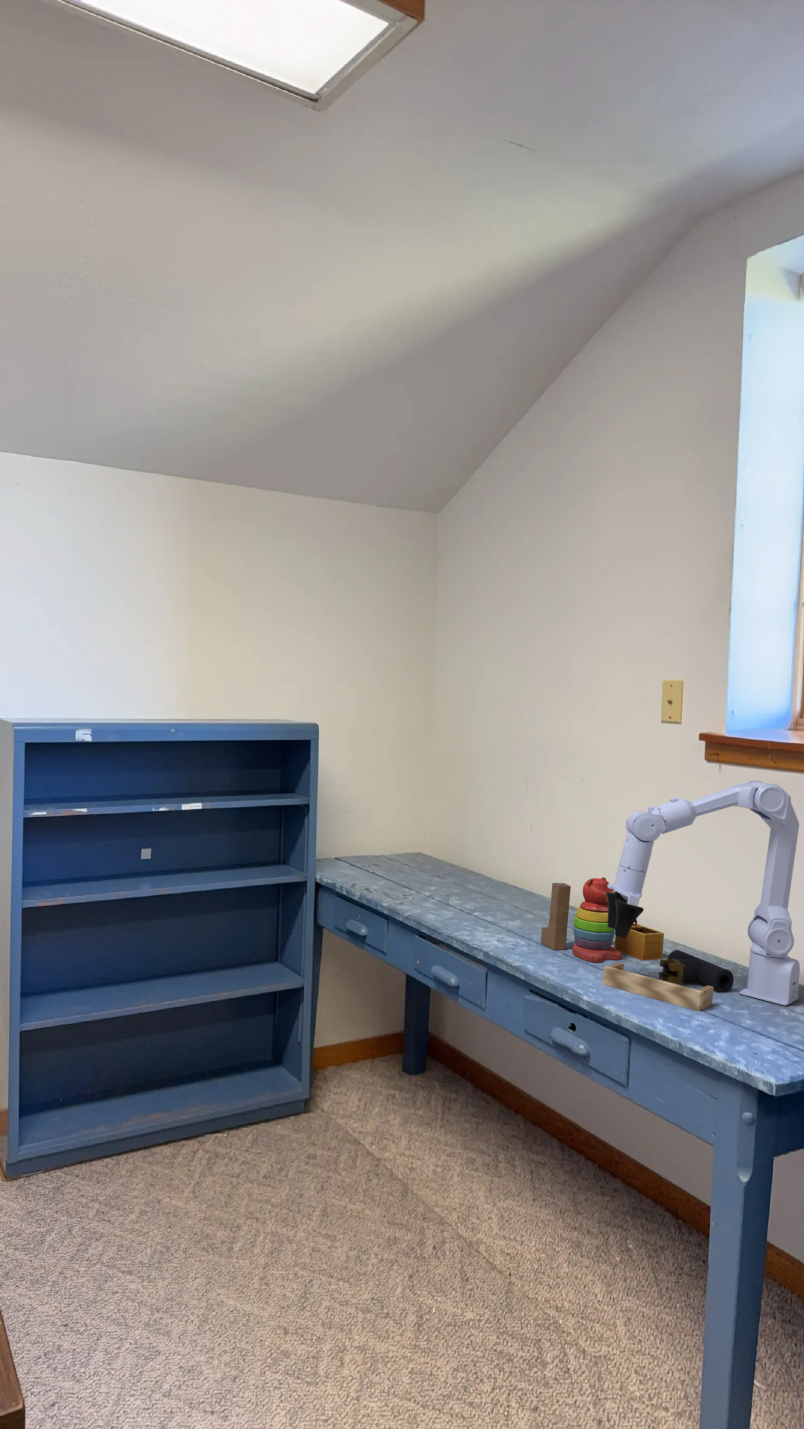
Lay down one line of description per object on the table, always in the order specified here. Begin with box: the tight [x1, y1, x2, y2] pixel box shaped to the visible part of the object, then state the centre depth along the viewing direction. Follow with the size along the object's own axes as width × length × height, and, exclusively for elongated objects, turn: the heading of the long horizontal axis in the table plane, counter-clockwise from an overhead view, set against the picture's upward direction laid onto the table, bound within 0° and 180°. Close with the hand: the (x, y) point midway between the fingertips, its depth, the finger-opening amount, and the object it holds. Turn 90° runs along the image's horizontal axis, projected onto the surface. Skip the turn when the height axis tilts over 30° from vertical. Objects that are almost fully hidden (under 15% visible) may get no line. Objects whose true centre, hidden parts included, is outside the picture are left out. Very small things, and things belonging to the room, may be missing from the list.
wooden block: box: [540, 882, 572, 951], centre depth 222 cm, size 7×3×15 cm, turn 18°
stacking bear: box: [571, 876, 623, 963], centre depth 217 cm, size 11×10×18 cm
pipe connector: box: [657, 949, 735, 994], centre depth 200 cm, size 12×5×15 cm
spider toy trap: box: [614, 918, 665, 962], centre depth 224 cm, size 6×15×9 cm, turn 30°
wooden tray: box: [602, 962, 714, 1012], centre depth 189 cm, size 20×6×4 cm, turn 50°
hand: (616, 932), depth 195 cm, fingers open, 7 cm apart
